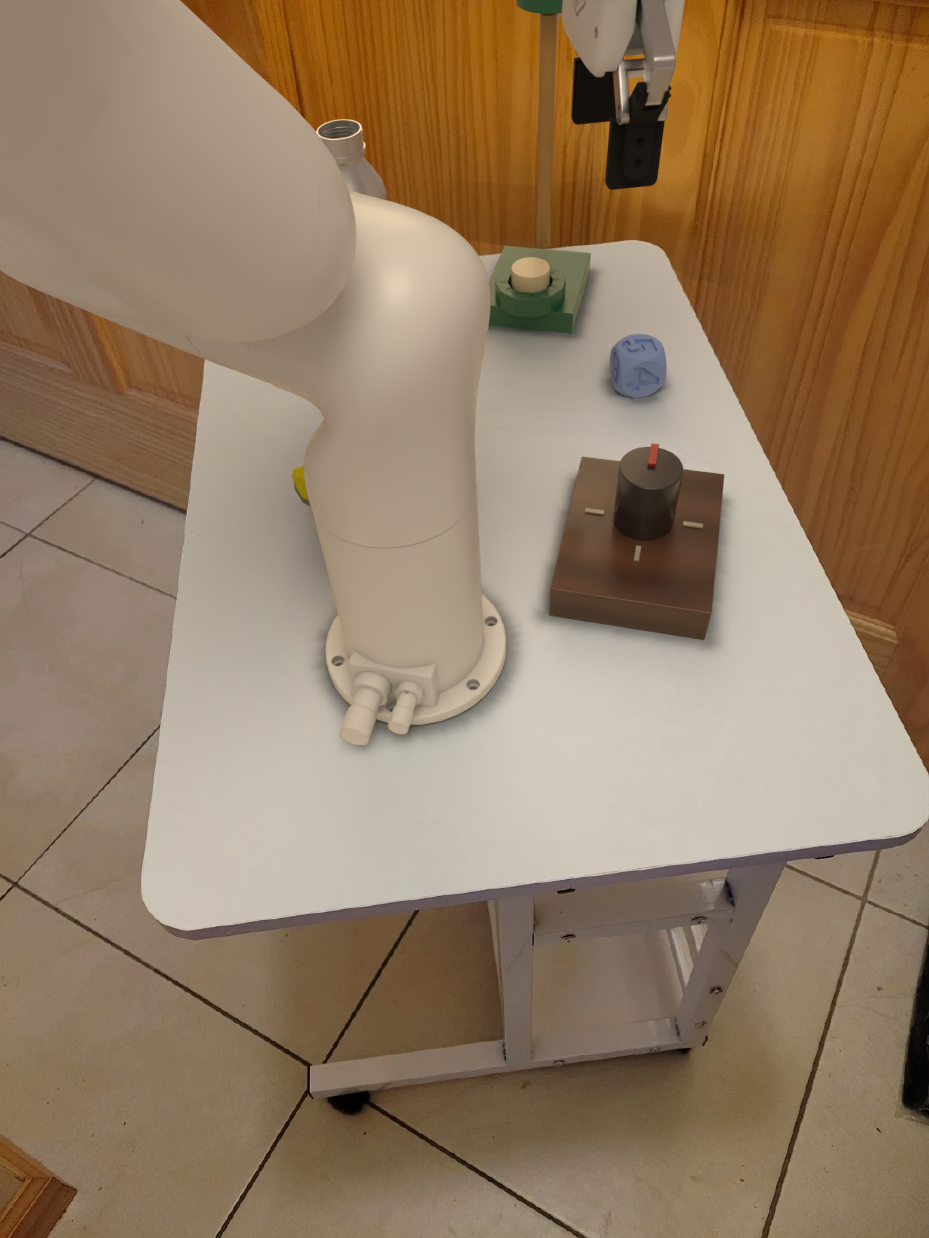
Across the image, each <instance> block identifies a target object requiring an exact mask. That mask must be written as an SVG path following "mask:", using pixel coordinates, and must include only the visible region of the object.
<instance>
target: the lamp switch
mask: <svg viewBox="0 0 929 1238" xmlns="http://www.w3.org/2000/svg"><path fill="white" fill-rule="evenodd" d="M549 281H550V266H549V264H548V262H546V261H545V260H543V259H540V258H535V257H527V258H522V259H519V260H517V261H516V262H514V263H513V265H512V267H511V285H512V287H513V289H514V290H517V291H519V292H524V293H536V292H541V291H544V290H545V289H547V288H548V286H549Z"/></svg>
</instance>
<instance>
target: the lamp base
mask: <svg viewBox="0 0 929 1238" xmlns="http://www.w3.org/2000/svg"><path fill="white" fill-rule="evenodd" d="M591 256H592V254H591V252H583V251H573V250H572V251H571V250H559V249H547V248H544V249H542V248H537V247H536V248H535V247H524V246H523V247H522V246H511V245H503V247H502V250H501V253H500V255H499V257H498V259H497V262H496V265H495V267H494V270H493V272H492V275H491V277H490V280H489V286H490V318H489V326H490V327H491V326H492V327H503V328H510V329H511V328H512V329H522V330H531V331H532V330H533V331H540V332H541V331H542V332H552V333H563V334H573V332H574V328H575V325H576V321H577V318H578V315H579V311H580V307H581V303H582V300H583V296H584V293H585V290H586V286H587V283H588V279H589V276H590V270H591ZM527 257H535V258H540V259H543V260H545V261H546V262H548V264H549V266H550V281H549V286H548V288H547V289H545V290H544V291H541V292H536V293H524V292H519V291H517V290H514V289H513V287H512V285H511V267H512V265H513V263H514V262H516V261H517V260H519V259H522V258H527Z"/></svg>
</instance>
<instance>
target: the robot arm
mask: <svg viewBox="0 0 929 1238" xmlns="http://www.w3.org/2000/svg"><path fill="white" fill-rule="evenodd" d="M685 2H686V1H685V0H563V5H562V15H561V23H562V27H563V30H564V32H565V34H566V36H567V38H568V40H569V41H570V43H571V45H572V47H573V49H574V51H575V55H576V56H577V57H574V58H573V73H572V75H573V76H572V92H571V93H572V94H571V112H570V118H571V121H572V122H573V124H574V125H575V126H576V125H577V126H578V125H579V126H580V125H589V124H590V125H591V124H599V123H609V127H608V137H607V152H606V162H605V175H604V183H605V186H606V187H607V189H608V190H611V191H615V190H616V191H617V190H626V189H635V188H645V187H653V186H654V185H655V184H657V182H658V177H659V169H660V161H661V156H662V155H661V153H662V147H663V138H664V131H665V123H666V120H667V117H668V111H669V105H668V104H669V103H668V102H669V99H670V98H671V96H672V93H670V92H671V91H672V85H671V83H672V80H673V76H674V72H675V70H676V64H677V52H678V48H679V44H680V43H679V42H680V37H681V32H682V31H681V30H682V26H683V25H682V24H683V17H684V9H685ZM638 55H643V56H644V57H642V58H631V59H625V57H629V56H638ZM635 78H637V79H638V78H643V81H638V82H637V83H636V84H635V86H634V88H633V89H632V92H631V94H630V88H629V79H635ZM316 131H317V130H315V128H314V127H313V126H312V125H311V124H310V123H309V122H308V120H306V119H305V118H304V117H303V116H302V115H301V113H300V112H298V110H297V109H296V108H295V107H294V106H293V105H292V104H291V103H290V102H289V100H287V99H286V98H285V97H284V96H283V95H282V94H281V93H280V92H278V90H277V89H276V88H274V87H273V86H272V85H271V84H270V83H269V82H268V81H267V80H265V78H263V77H262V76H261V75H260V74H259V73H258V72H256V71H255V70H254V68H252V66H250V65H249V64H248V63H247V62H246V61H245V60H244V59H243V58H242V57H241V56H239V55H238V54H237V52H236V51H234V50H233V49H232V47H230V46H229V45H228V44H227V43H226V42H225V41H224V40H223V39H222V38H220V37H219V36H218V35H217V34H216V33H215V32H214V31H213V30H212V29H211V28H210V27H209V26H208V25H207V24H206V23H205V22H204V21H203V20H201V19H200V17H198V16H197V14H195V13H194V12H193V11H192V10H191V9H190V8H189V7H188V6H187V5H186V4H185V3H183V2H182V1H181V0H0V271H1V272H2V273H4V274H5V275H6V276H9V277H10V278H12V279H14V280H15V281H17V282H19V283H21V284H23V285H25V286H28V287H30V288H33V289H34V290H37V291H39V292H41V293H44V294H46V295H48V296H50V297H53V298H56V299H58V300H60V301H61V302H64V303H67V304H70V305H72V306H74V307H76V308H79V309H82V310H84V311H87V312H89V313H91V314H93V315H96V316H98V317H100V318H103V319H105V320H108V321H110V322H112V323H115V324H117V325H120V326H122V327H124V328H126V329H129V330H132V331H134V332H136V333H139V334H141V335H144V336H146V337H149V338H151V339H153V340H155V341H158V342H160V343H163V344H165V345H168V346H170V347H173V348H175V349H178V350H180V351H183V352H185V353H187V354H190V355H191V356H192V355H193V356H196V357H197V358H200V359H203V360H205V361H208V362H211V363H214V364H216V365H218V366H221V367H224V368H227V369H229V370H232V371H234V372H237V373H240V374H243V375H246V376H248V377H251V378H253V379H255V380H258V381H262V382H264V383H267V384H270V385H272V386H274V387H275V388H277V389H280V390H283V391H285V392H287V393H290V394H294V395H296V396H298V397H300V398H302V399H304V400H306V401H308V402H309V403H311V404H312V405H313V406H315V407H316V408H317V410H318V411H319V412H320V413H321V415H322V417H323V421H322V422H321V423H320V424H319V425H318V427H317V428H316V429H315V431H314V432H313V433H312V436H311V437H310V439H309V441H308V444H307V446H306V449H305V453H304V458H303V459H304V460H303V465H304V478H305V484H306V490H307V494H308V498H309V502H310V506H311V507H310V506H309V507H310V509H311V512H312V515H313V519H314V523H315V527H316V533H317V535H318V540H319V545H320V548H321V551H322V555H323V560H324V564H325V567H326V572H327V576H328V581H329V584H330V588H331V592H332V596H333V600H334V605H335V609H336V612H337V614H336V616H335V617H334V619H333V620H332V622H331V625H330V627H329V629H328V631H327V636H326V641H325V647H324V648H325V649H324V650H325V651H324V652H325V661H326V666H327V670H328V674H329V677H330V679H331V681H332V683H333V686H334V688H335V690H336V691H337V692H338V693H339V695H340V696H341V698H342V699H343V700H344V701H346V702H347V703H348V705H350V706H349V707H348V708H347V711H346V713H345V716H344V719H343V721H342V723H341V726H340V729H339V731H338V733H339V737H340V738H341V739H342V740H343V741H345V742H347V743H349V744H350V745H355V746H365V745H367V744H369V742H370V738H371V735H372V733H373V729H374V727H375V724H376V721H377V720H378V721H380V722H384V723H387V726H386V727H387V729H388V730H389V731H390V732H392V733H394V734H397V735H405V734H408V732H409V729H410V728H411V727H410V726H423V725H429V724H433V723H440V722H442V721H446V720H448V719H451V718H454V717H457V716H459V715H460V714H462V713H463V712H466V711H467V710H469V709H471V708H473V707H474V706H475V705H476V704H477V703H479V702H480V701H481V700H482V699H484V698H485V697H486V696H487V695H488V694H489V692H490V691H491V690H492V689H493V687H494V686H495V685H496V683H497V681H498V680H499V677H500V676H501V673H502V672H503V669H504V665H505V662H506V658H507V634H506V628H505V625H504V622H503V619H502V616H501V614H500V613H499V610H498V609H497V608H496V607H495V605H494V603H493V602H492V601H490V599H489V598H488V597H487V596H486V595H485V594H484V593H483V592H482V591H483V590H482V570H481V568H482V566H481V545H480V544H481V543H480V524H479V521H480V520H479V503H478V502H479V501H478V499H479V498H478V484H477V483H478V482H477V465H476V463H477V461H476V417H477V414H476V413H477V402H478V391H479V387H480V386H479V385H480V379H481V373H482V367H483V361H484V355H485V350H486V344H487V337H488V333H489V326H490V325H489V318H490V286H489V282H490V280H489V276H488V273H487V271H486V267H485V265H484V263H483V261H482V259H481V258H480V256H479V254H478V252H477V251H476V250H475V248H474V247H473V246H472V245H471V244H470V243H469V242H468V240H466V239H465V238H464V237H463V236H462V235H461V234H460V233H459V232H458V231H456V230H455V229H453V228H452V227H451V226H449V225H448V224H446V223H445V222H443V221H441V220H440V219H437V218H436V217H433V216H431V215H429V214H427V213H425V212H423V211H421V210H418V209H415V208H413V207H410V206H406V205H404V204H401V203H398V202H395V201H391V200H388V199H387V200H384V199H380V198H376V197H372V196H368V195H365V194H361V193H357V192H353V191H350V190H348V187H347V185H346V183H345V180H344V178H343V176H342V174H341V171H340V169H339V167H338V165H337V163H336V161H335V159H334V158H333V156H332V155H331V153H330V152H329V150H328V148H327V147H326V146H325V144H324V143H323V141H322V140H321V138H320V137H319V135H318V134H317V133H316Z"/></svg>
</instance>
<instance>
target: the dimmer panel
mask: <svg viewBox="0 0 929 1238" xmlns="http://www.w3.org/2000/svg"><path fill="white" fill-rule="evenodd" d="M620 461H621V460H614V459H605V458H598V457H591V456H581V458H580V462H579V467H578V471H577V474H576V479H575V483H574V488H573V492H572V495H571V501H570V504H569V508H568V513H567V517H566V520H565V525H564V529H563V533H562V538H561V541H560V546H559V550H558V555H557V558H556V563H555V566H554V570H553V576H552V580H551V584H550V588H549V605H548V608H549V609H548V615H549V616H551V617H557V618H558V617H559V618H562V619H568V620H569V619H570V620H576V621H583V622H587V623H588V622H589V623H595V624H601V625H608V626H614V627H620V628H627V629H633V630H640V631H646V632H652V633H658V634H665V635H671V636H675V637H676V636H678V637H683V638H690V639H697V640H701V641H702V640H703V641H705V639H706V636H707V631H708V628H709V624H710V621H711V617H712V614H713V605H714V604H713V603H714V595H715V593H714V592H715V582H716V572H717V562H718V561H717V560H718V551H719V550H718V547H719V540H720V539H719V537H720V529H721V528H720V527H721V516H722V507H723V506H722V505H723V495H724V485H725V473H718V472H709V471H701V470H694V469H685V468H683V477H682V482H681V487H680V492H679V497H678V502H677V507H676V513H675V518H674V523H673V526H672V528H671V529H670V530H669V531H668V532H667V533H666V534H665V535H663V536H661V537H659V538H655V539H649V540H643V539H636V538H633V537H630V536H628V535H626V534H624V533H623V532H621V531H620V530H619V529H618V528H617V526H616V524H615V522H614V519H613V513H614V505H615V497H616V488H617V480H618V472H619V464H620Z"/></svg>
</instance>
